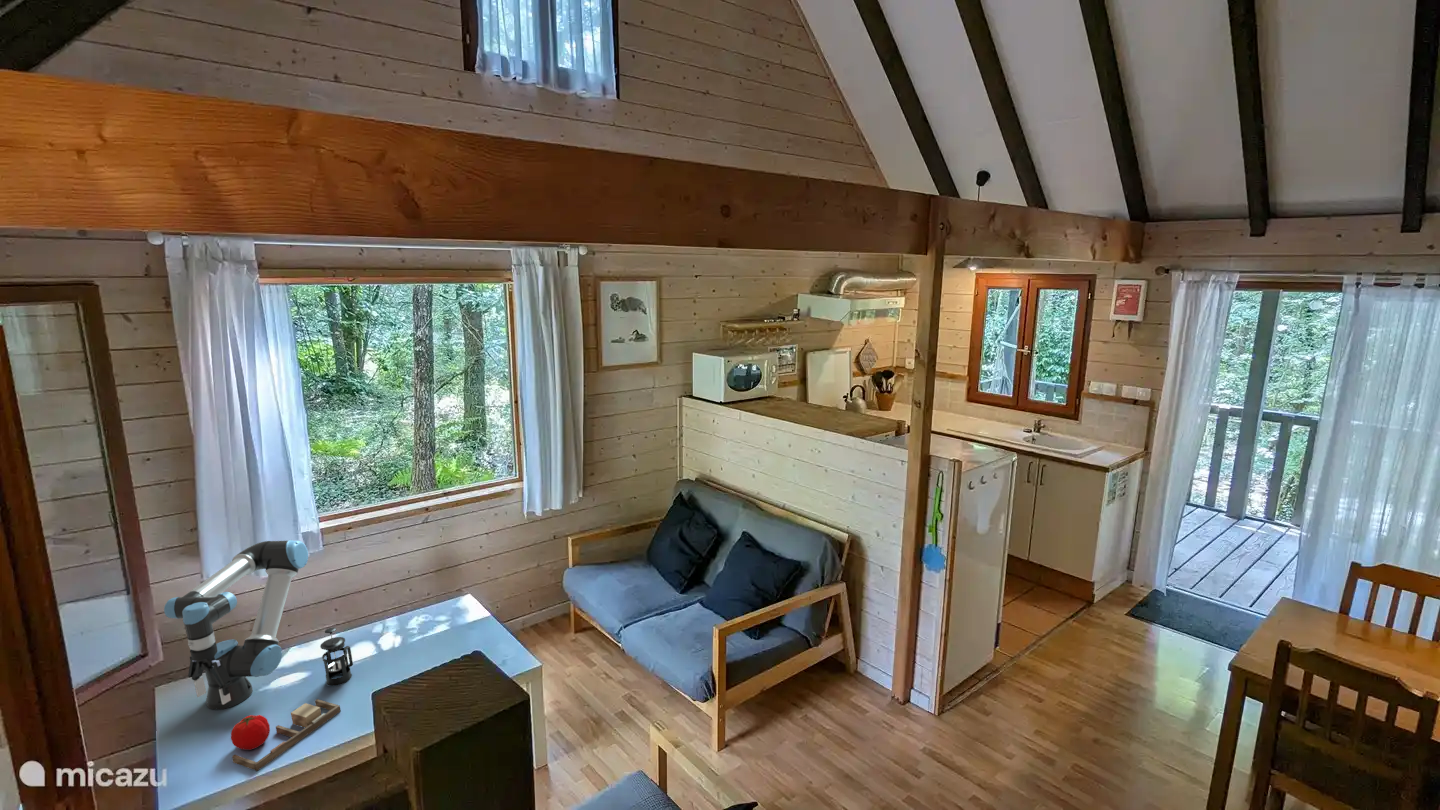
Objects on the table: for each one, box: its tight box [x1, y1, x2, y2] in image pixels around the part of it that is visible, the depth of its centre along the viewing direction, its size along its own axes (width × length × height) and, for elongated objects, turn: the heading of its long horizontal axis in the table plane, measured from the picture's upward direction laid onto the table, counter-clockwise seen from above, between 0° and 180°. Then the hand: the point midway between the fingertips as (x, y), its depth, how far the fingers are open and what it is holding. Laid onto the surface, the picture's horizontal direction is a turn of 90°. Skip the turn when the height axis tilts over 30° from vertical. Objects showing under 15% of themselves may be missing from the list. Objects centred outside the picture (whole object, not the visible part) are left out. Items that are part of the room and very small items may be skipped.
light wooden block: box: [290, 702, 323, 728], centre depth 257 cm, size 8×6×5 cm
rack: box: [231, 698, 342, 772], centre depth 250 cm, size 12×33×3 cm, turn 159°
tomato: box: [230, 714, 271, 751], centre depth 245 cm, size 12×12×11 cm
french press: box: [319, 626, 354, 687], centre depth 281 cm, size 12×9×23 cm
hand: (214, 698), depth 248 cm, fingers open, 13 cm apart
